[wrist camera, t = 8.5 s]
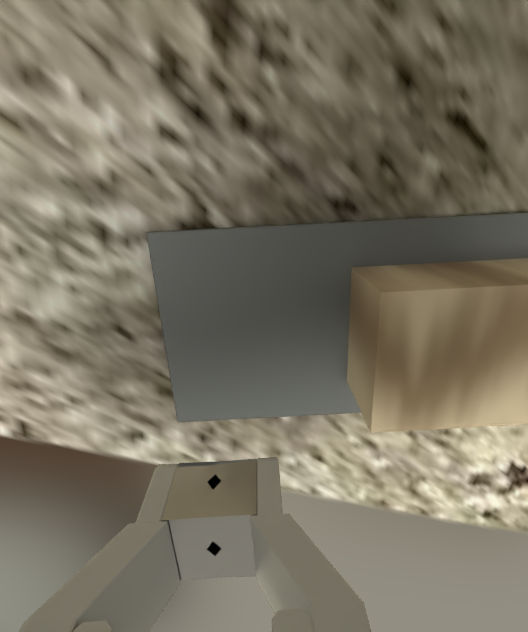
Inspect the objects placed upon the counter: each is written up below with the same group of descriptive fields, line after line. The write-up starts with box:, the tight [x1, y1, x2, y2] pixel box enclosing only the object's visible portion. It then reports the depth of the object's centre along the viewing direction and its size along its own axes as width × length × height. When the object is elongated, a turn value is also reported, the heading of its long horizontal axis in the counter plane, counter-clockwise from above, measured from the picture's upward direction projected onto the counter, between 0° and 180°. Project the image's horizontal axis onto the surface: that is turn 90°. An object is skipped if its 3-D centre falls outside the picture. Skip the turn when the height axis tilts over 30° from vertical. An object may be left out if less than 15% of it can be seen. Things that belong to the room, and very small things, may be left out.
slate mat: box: [147, 212, 528, 422], centre depth 17 cm, size 10×26×1 cm, turn 93°
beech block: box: [347, 258, 528, 432], centre depth 15 cm, size 6×4×12 cm
